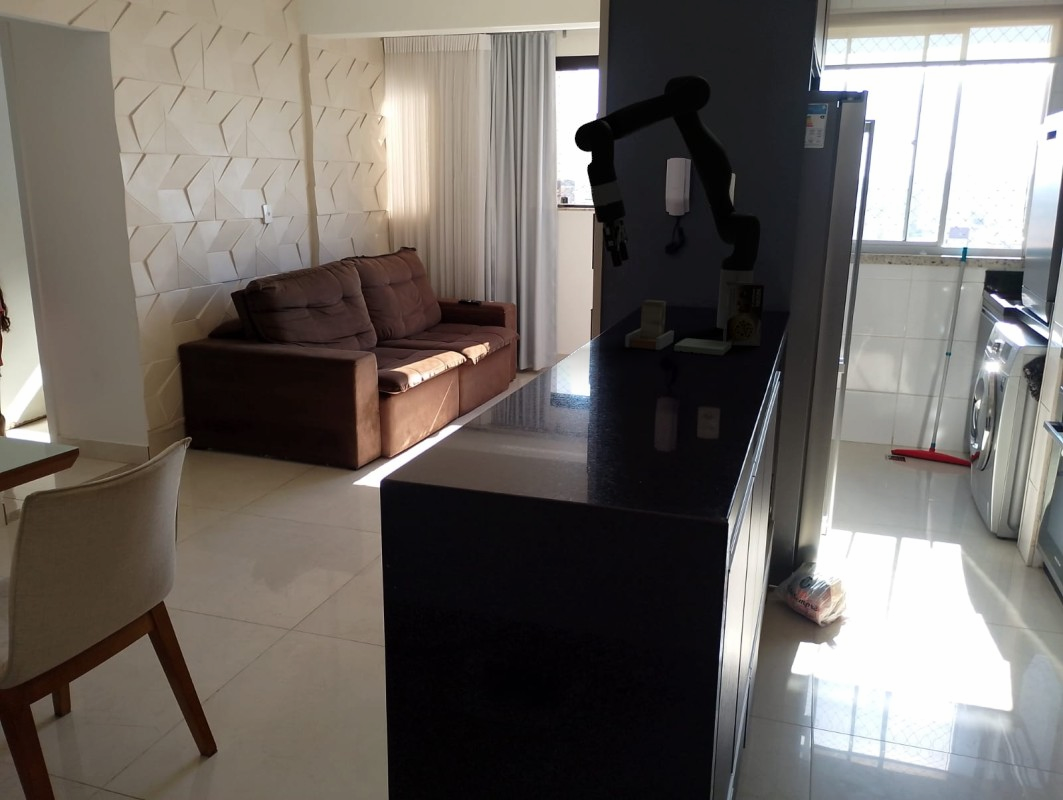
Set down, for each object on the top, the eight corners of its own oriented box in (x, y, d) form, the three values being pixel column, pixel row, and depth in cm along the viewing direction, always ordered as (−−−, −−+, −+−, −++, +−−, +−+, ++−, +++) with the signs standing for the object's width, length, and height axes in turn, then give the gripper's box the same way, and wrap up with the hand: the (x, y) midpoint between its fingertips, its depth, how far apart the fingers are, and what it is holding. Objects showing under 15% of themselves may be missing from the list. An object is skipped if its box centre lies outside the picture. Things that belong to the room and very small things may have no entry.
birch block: (645, 341, 230) (647, 299, 227) (663, 342, 228) (666, 301, 225) (639, 343, 225) (642, 301, 223) (658, 345, 223) (661, 303, 221)
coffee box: (756, 342, 232) (761, 282, 228) (760, 346, 226) (765, 284, 222) (721, 341, 233) (726, 280, 229) (724, 345, 227) (729, 283, 223)
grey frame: (640, 338, 233) (641, 327, 232) (673, 341, 229) (673, 330, 229) (625, 346, 220) (625, 335, 219) (659, 350, 217) (660, 338, 216)
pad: (685, 343, 227) (685, 338, 227) (731, 347, 222) (731, 342, 222) (674, 350, 216) (674, 345, 216) (722, 355, 212) (722, 349, 211)
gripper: (600, 201, 229) (613, 261, 233) (587, 207, 216) (601, 271, 220) (627, 195, 226) (640, 255, 230) (615, 201, 213) (629, 265, 218)
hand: (621, 263), depth 225 cm, fingers open, 8 cm apart
